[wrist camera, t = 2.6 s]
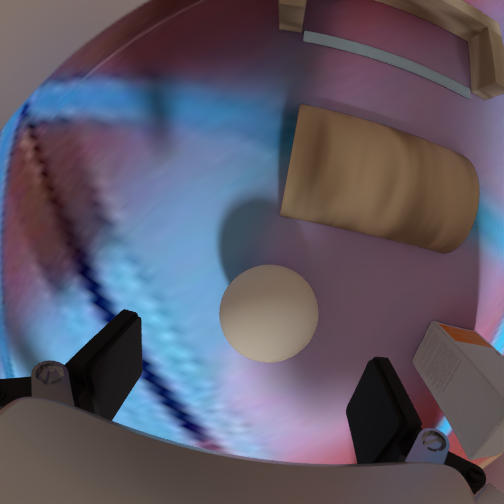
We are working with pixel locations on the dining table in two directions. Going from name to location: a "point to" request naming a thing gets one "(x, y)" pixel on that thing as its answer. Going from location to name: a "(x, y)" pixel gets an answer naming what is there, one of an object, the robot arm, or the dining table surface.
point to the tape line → (386, 59)
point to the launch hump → (379, 181)
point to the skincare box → (465, 385)
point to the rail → (449, 18)
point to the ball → (269, 313)
